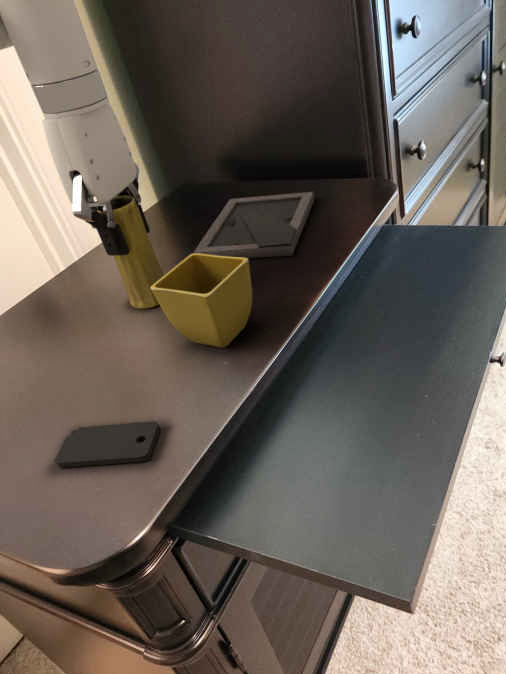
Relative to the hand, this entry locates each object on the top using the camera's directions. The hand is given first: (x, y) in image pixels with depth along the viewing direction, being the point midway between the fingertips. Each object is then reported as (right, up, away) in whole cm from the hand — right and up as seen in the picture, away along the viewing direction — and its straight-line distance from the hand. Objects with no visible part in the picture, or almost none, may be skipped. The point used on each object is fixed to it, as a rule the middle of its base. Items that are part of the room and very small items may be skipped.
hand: (129, 242), depth 71 cm
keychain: (+4, -27, -17) cm, 32 cm away
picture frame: (+16, +8, +19) cm, 26 cm away
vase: (+1, -7, +6) cm, 9 cm away
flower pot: (+13, -13, -4) cm, 19 cm away
